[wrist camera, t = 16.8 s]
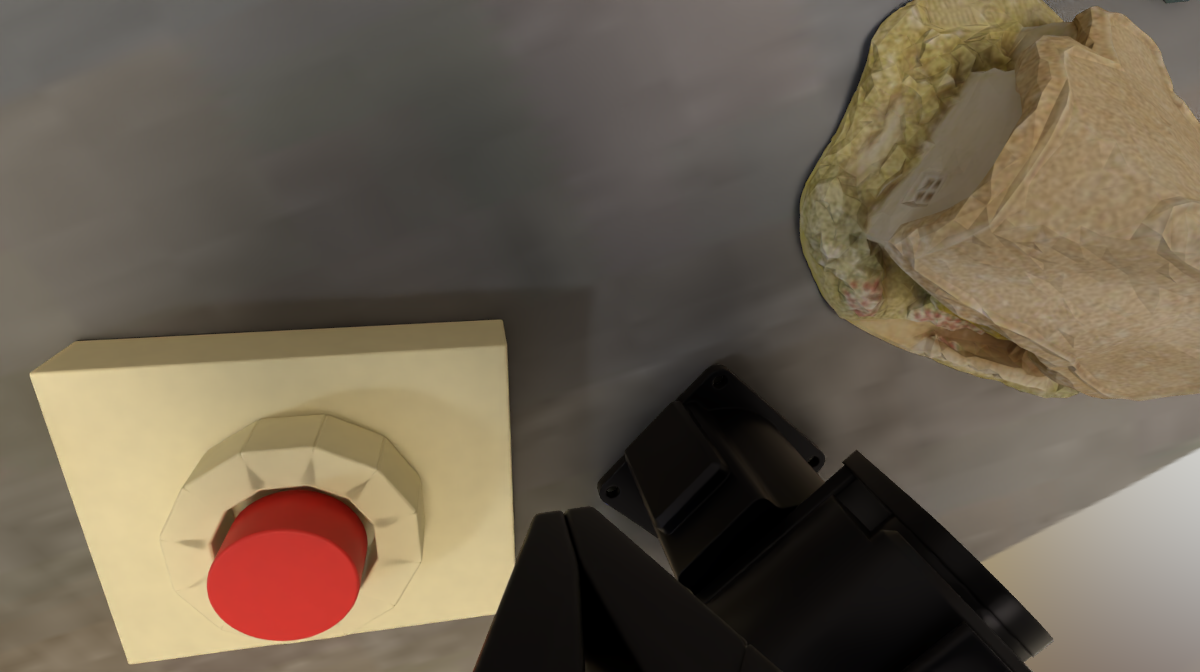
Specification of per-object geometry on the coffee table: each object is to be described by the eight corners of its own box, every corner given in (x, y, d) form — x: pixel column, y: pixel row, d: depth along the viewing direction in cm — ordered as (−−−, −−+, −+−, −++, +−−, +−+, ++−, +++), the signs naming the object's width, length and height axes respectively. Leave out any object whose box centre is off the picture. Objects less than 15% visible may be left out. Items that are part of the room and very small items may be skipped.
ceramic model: (725, 240, 21) (928, 367, 12) (950, -86, 19) (1418, -238, 10) (984, 415, 26) (1265, 598, 17) (1187, 176, 24) (1638, 240, 15)
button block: (502, 318, 20) (512, 371, 17) (512, 567, 24) (522, 654, 21) (74, 340, 18) (-22, 407, 15) (158, 611, 22) (98, 718, 18)
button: (359, 482, 18) (350, 522, 16) (374, 585, 19) (367, 631, 17) (216, 495, 17) (190, 539, 15) (241, 601, 18) (220, 652, 17)
